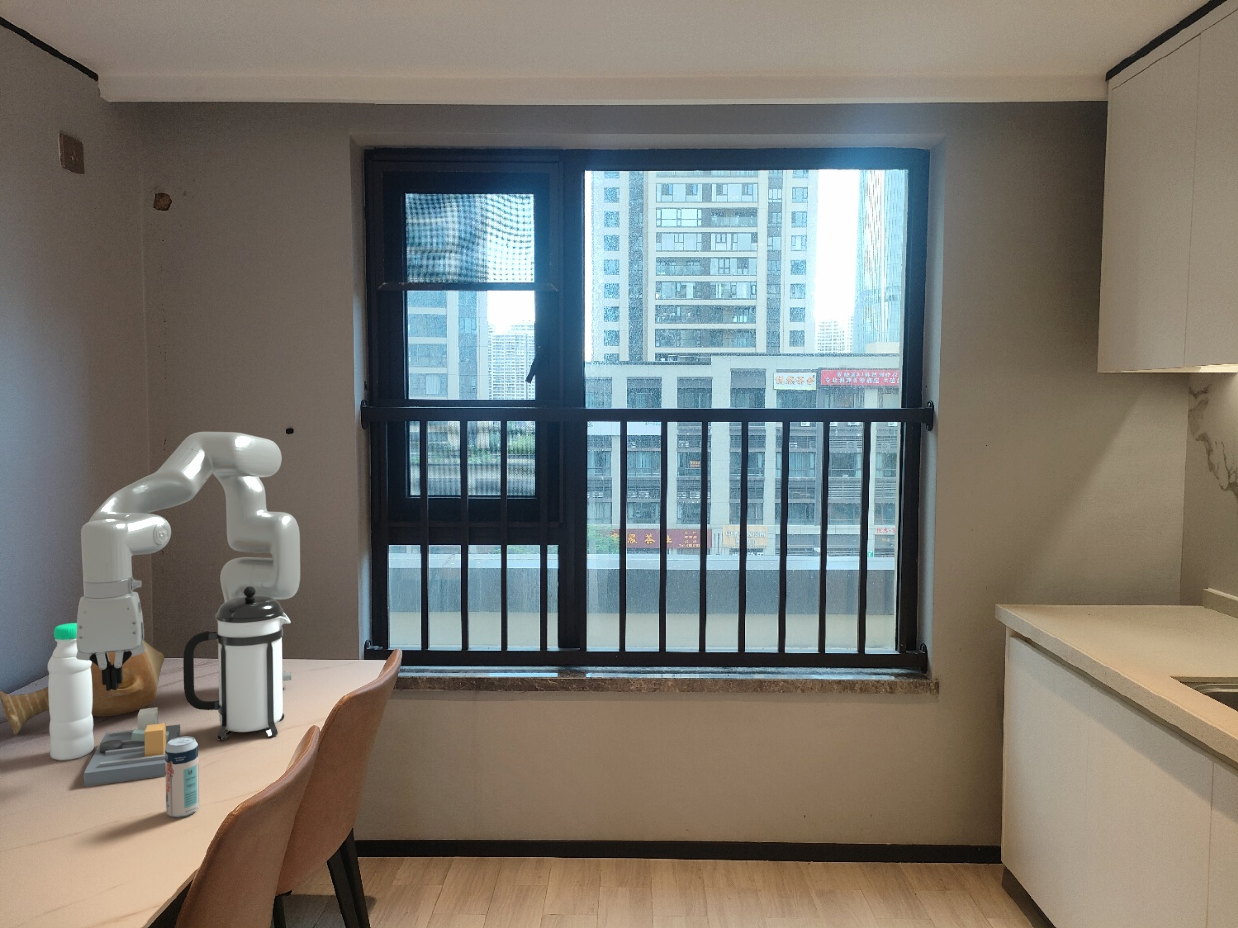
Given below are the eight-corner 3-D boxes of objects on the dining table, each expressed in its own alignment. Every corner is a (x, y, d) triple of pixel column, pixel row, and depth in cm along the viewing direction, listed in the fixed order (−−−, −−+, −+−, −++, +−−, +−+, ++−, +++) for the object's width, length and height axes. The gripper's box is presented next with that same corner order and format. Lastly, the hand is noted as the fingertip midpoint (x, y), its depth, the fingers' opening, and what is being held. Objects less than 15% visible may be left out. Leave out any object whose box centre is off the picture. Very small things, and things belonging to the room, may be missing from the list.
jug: (183, 664, 180) (15, 715, 159) (175, 717, 190) (16, 771, 169) (150, 598, 189) (-13, 637, 168) (145, 652, 199) (-10, 696, 178)
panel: (180, 735, 171) (179, 718, 170) (167, 775, 152) (167, 755, 152) (106, 744, 166) (105, 726, 166) (84, 786, 147) (83, 766, 147)
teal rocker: (167, 738, 162) (169, 731, 162) (166, 742, 160) (167, 735, 160) (132, 736, 160) (134, 728, 160) (130, 740, 158) (132, 732, 158)
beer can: (174, 805, 141) (172, 735, 140) (203, 805, 141) (202, 734, 140) (161, 819, 136) (159, 746, 135) (191, 818, 136) (190, 746, 135)
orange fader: (166, 748, 158) (165, 723, 158) (163, 755, 155) (163, 729, 154) (147, 750, 157) (147, 725, 156) (145, 758, 153) (144, 731, 153)
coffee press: (261, 710, 185) (259, 576, 184) (305, 727, 176) (303, 585, 174) (182, 734, 171) (179, 588, 170) (225, 753, 162) (223, 599, 160)
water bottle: (102, 749, 163) (99, 622, 162) (68, 763, 157) (64, 631, 155) (76, 744, 166) (72, 619, 164) (41, 758, 159) (37, 627, 157)
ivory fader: (158, 731, 166) (157, 707, 166) (155, 738, 163) (155, 713, 163) (141, 733, 165) (140, 708, 165) (138, 740, 162) (137, 715, 162)
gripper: (158, 581, 158) (162, 676, 159) (64, 587, 152) (69, 686, 154) (152, 589, 151) (156, 689, 152) (54, 596, 145) (59, 700, 147)
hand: (112, 687), depth 153 cm, fingers closed
